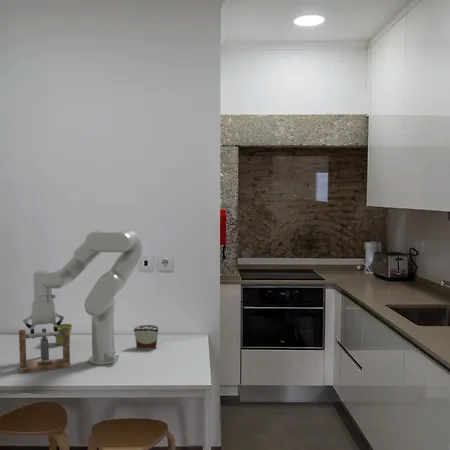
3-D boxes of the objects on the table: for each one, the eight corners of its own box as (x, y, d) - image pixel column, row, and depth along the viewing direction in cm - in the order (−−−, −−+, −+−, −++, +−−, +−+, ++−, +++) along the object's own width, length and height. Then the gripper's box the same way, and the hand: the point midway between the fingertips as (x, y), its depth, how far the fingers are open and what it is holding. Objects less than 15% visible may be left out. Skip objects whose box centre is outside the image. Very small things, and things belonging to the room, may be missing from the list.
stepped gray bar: (48, 361, 234) (48, 331, 234) (41, 362, 233) (40, 331, 232) (48, 356, 242) (47, 326, 241) (41, 356, 240) (40, 327, 239)
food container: (161, 345, 258) (161, 324, 257) (159, 349, 251) (158, 328, 251) (137, 344, 259) (136, 324, 258) (133, 348, 253) (133, 327, 252)
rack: (68, 360, 235) (67, 324, 234) (70, 367, 227) (69, 329, 225) (20, 366, 228) (18, 328, 226) (20, 373, 219) (19, 334, 218)
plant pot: (67, 346, 255) (66, 329, 255) (49, 345, 257) (48, 328, 257) (76, 341, 265) (76, 324, 264) (59, 340, 267) (58, 323, 266)
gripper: (62, 295, 242) (63, 332, 243) (22, 298, 236) (23, 336, 237) (64, 298, 235) (65, 336, 236) (22, 301, 229) (23, 341, 230)
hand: (44, 336), depth 237 cm, fingers open, 8 cm apart
